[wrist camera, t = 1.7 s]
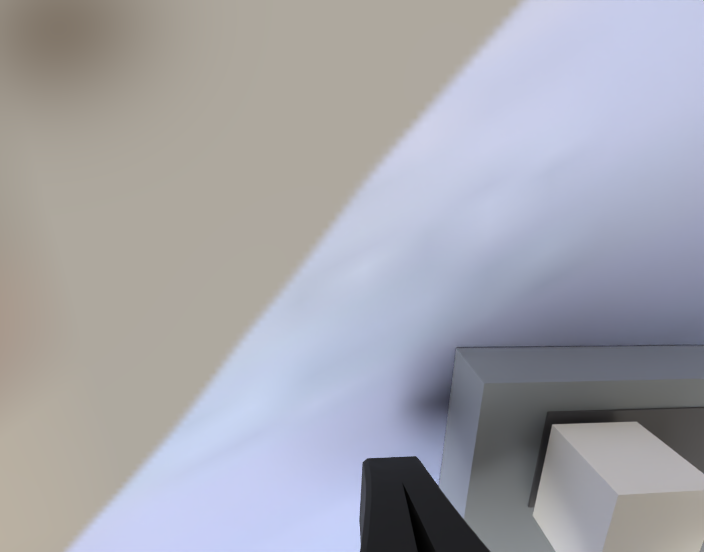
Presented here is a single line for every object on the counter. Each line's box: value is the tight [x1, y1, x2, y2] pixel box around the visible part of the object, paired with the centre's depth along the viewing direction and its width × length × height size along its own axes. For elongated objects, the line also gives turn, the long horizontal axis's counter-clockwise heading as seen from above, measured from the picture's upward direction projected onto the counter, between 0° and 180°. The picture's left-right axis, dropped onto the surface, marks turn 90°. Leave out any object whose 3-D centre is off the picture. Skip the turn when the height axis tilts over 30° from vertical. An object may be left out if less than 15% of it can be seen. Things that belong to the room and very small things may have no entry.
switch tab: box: [533, 422, 704, 552], centre depth 9 cm, size 3×2×2 cm
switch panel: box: [439, 345, 704, 552], centre depth 13 cm, size 12×10×2 cm
